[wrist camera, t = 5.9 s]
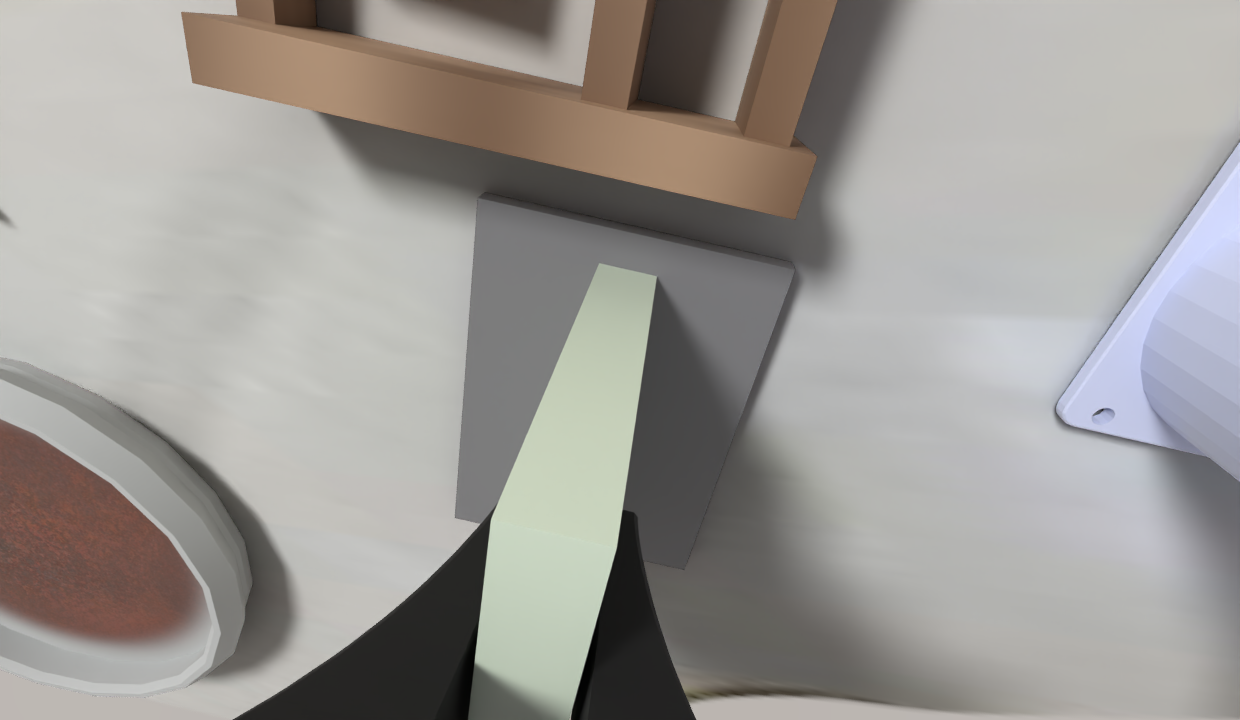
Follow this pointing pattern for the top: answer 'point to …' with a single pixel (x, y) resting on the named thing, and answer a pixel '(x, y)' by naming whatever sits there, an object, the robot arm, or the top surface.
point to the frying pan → (108, 548)
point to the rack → (540, 97)
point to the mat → (673, 367)
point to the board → (563, 511)
